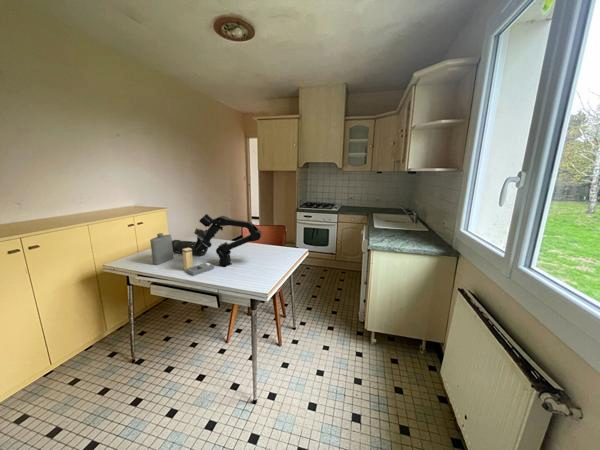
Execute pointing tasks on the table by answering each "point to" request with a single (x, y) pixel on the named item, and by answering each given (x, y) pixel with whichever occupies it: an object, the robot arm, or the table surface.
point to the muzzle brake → (180, 245)
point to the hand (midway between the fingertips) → (194, 250)
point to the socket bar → (200, 268)
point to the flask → (161, 248)
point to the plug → (187, 258)
